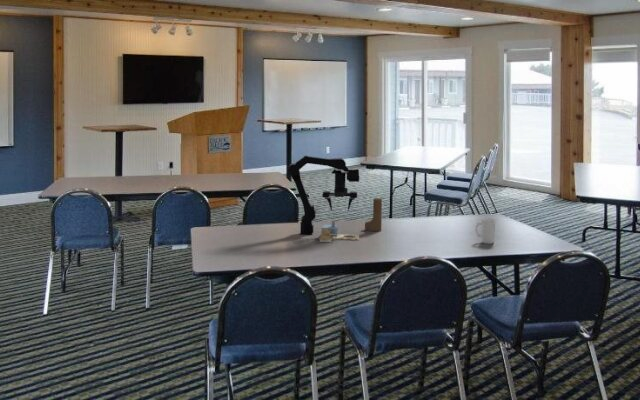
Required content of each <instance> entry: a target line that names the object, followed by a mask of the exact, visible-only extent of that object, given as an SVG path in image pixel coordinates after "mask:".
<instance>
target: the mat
mask: <svg viewBox="0 0 640 400" xmlns="http://www.w3.org/2000/svg"><path fill="white" fill-rule="evenodd" d="M332 241H333V240H332V239H330V240H322V238H321V239H319V242H320V243H321V242H322V243H331V242H332Z"/></svg>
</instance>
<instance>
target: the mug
mask: <svg viewBox="0 0 640 400" xmlns="http://www.w3.org/2000/svg"><path fill="white" fill-rule="evenodd" d="M479 226H481V233H479V230H478V227H479ZM474 231H475V234H476V236H477V237H478V238H481V243H482V244H491V245H492V244H494V243H495V233H496V219H495V218H482V219H481V221H477V223H476V225H475V230H474Z"/></svg>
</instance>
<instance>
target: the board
mask: <svg viewBox="0 0 640 400" xmlns="http://www.w3.org/2000/svg"><path fill="white" fill-rule="evenodd" d="M321 238H322V237H321V233H320V234H319V237H318V240H320V239H321ZM330 239H332V240H331V241H333V240H334V241H335V240H336V241H359V240H360V234H339V233H338V234H337V237H335V234H330Z"/></svg>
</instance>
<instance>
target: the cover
mask: <svg viewBox="0 0 640 400" xmlns="http://www.w3.org/2000/svg"><path fill="white" fill-rule="evenodd" d="M331 222H332V223H331V224H322V226H321V230H320V231H321V233H320V234H321V237H322V229H328V230H330V234H335V237H337V234H339V230H338V229H339V228H338V227H339V225H337V224H336V221H335V220H331Z"/></svg>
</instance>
